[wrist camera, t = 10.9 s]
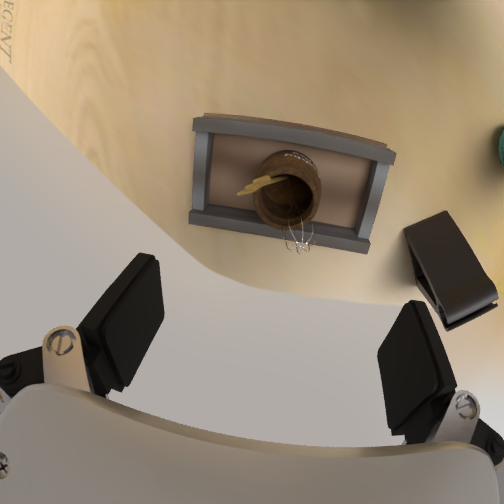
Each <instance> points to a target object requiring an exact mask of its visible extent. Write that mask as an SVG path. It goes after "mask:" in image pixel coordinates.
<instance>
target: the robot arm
mask: <svg viewBox="0 0 504 504" xmlns="http://www.w3.org/2000/svg"><path fill="white" fill-rule="evenodd" d="M163 319H164V305H163V296H162V287H161V277H160V267H159V261H158V260H156V259H155V256H153V255H150V254H145V253H139V254H137V255H136V257H135V258H134V259H133V260H132V261H131V262H130V263H129V265H128V266H127V267H126V268H125V269H124V270H123V272H122V273H121V274H120V275H119V276H118V278H117V279H116V280H115V281H114V282H113V283H112V284H111V285H110V287H109V288H108V289H107V290H106V291H105V293H104V294H103V295H102V296H101V298H100V299H99V300H98V301H97V303H96V304H95V305H94V306H93V308H92V309H91V310H90V312H89V313H88V314H87V315H86V317H85V318H84V319H83V321H82V322H81V323H80V324H79V326H78V327H77V328H76V329H74V328H72V327H70V326H59V327H56V328H54V329H52V330H51V331H49V333H48V334H47V335H46V336H45V338H44V340H43V345H42V346H41V347H37V348H34V349H30V350H27V351H24V352H20V353H17V354H13V355H10V356H7V357H4V358H3V359H2V360H0V504H504V440H503V438H502V437H501V436H500V435H499V434H498V433H497V432H496V431H494V430H493V429H492V428H491V427H489V426H488V425H487V424H486V423H484V422H483V421H482V420H481V419H480V418H479V414H480V405H479V403H478V401H477V399H476V397H475V396H474V395H473V394H472V393H470V392H468V391H465V390H461V391H458V392H455V388H456V387H457V383H456V380H455V377H454V374H453V371H452V368H451V365H450V362H449V360H448V357H447V354H446V352H445V349H444V346H443V344H442V341H441V339H440V336H439V334H438V331H437V329H436V327H435V324H434V322H433V319H432V317H431V315H430V312H429V310H428V308H427V306H426V304H425V302H423V301H416V300H410V301H409V302H408V303H406V304H405V305H404V306H403V308H402V310H401V312H400V313H399V315H398V317H397V319H396V321H395V323H394V324H393V326H392V328H391V329H390V331H389V333H388V335H387V336H386V338H385V340H384V341H383V343H382V344H381V346H380V348H379V350H378V355H377V357H378V363H379V368H380V374H381V381H382V387H383V394H384V400H385V408H386V415H387V424H388V427H389V428H390V429H391V433H392V436H395V435H405V440H404V442H403V443H402V445H398V446H381V447H318V446H303V445H292V444H282V443H274V442H266V441H259V440H253V439H246V438H240V437H235V436H230V435H225V434H220V433H216V432H211V431H207V430H202V429H198V428H194V427H190V426H187V425H183V424H179V423H176V422H173V421H169V420H166V419H163V418H160V417H157V416H153V415H150V414H147V413H144V412H141V411H138V410H135V409H133V408H130V407H127V406H124V405H122V404H119V403H116V402H114V401H111V400H109V397H108V394H109V392H110V390H111V389H114V390H116V391H119V392H122V391H123V389H124V387H125V386H126V387H128V386H129V385H130V383H131V381H132V379H133V377H134V375H135V373H136V371H137V369H138V367H139V365H140V364H141V362H142V360H143V357H144V356H145V354H146V352H147V350H148V348H149V346H150V344H151V342H152V340H153V338H154V336H155V334H156V333H157V331H158V329H159V327H160V325H161V323H162V321H163Z"/></svg>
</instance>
